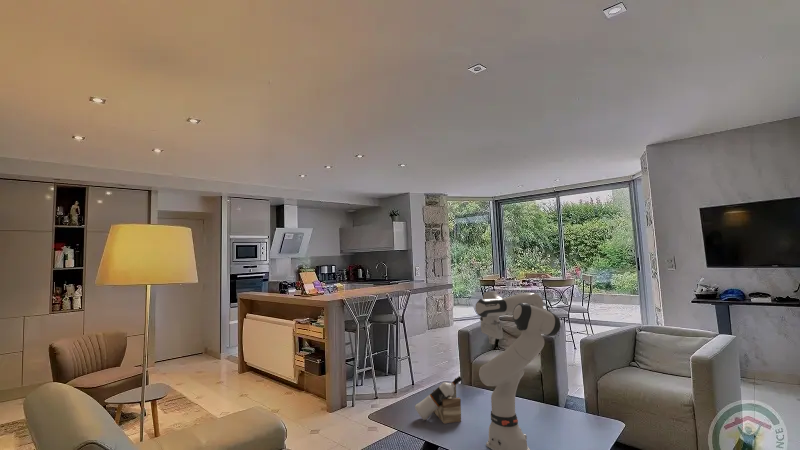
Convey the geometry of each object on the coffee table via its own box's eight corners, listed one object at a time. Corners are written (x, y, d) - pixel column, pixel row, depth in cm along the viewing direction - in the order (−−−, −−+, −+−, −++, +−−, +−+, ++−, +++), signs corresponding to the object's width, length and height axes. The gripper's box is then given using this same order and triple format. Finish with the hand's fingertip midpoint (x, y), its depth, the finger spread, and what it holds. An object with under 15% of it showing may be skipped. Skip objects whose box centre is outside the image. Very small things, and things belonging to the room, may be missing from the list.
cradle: (461, 421, 208) (460, 398, 209) (443, 423, 205) (443, 400, 206) (449, 409, 224) (449, 388, 225) (433, 411, 222) (432, 390, 223)
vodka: (419, 410, 216) (459, 376, 220) (426, 423, 208) (468, 387, 212) (412, 403, 211) (453, 367, 215) (419, 416, 203) (462, 379, 208)
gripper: (505, 322, 212) (506, 347, 210) (488, 316, 231) (488, 339, 230) (495, 322, 210) (496, 348, 209) (478, 317, 230) (479, 340, 229)
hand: (492, 343), depth 220 cm, fingers closed
